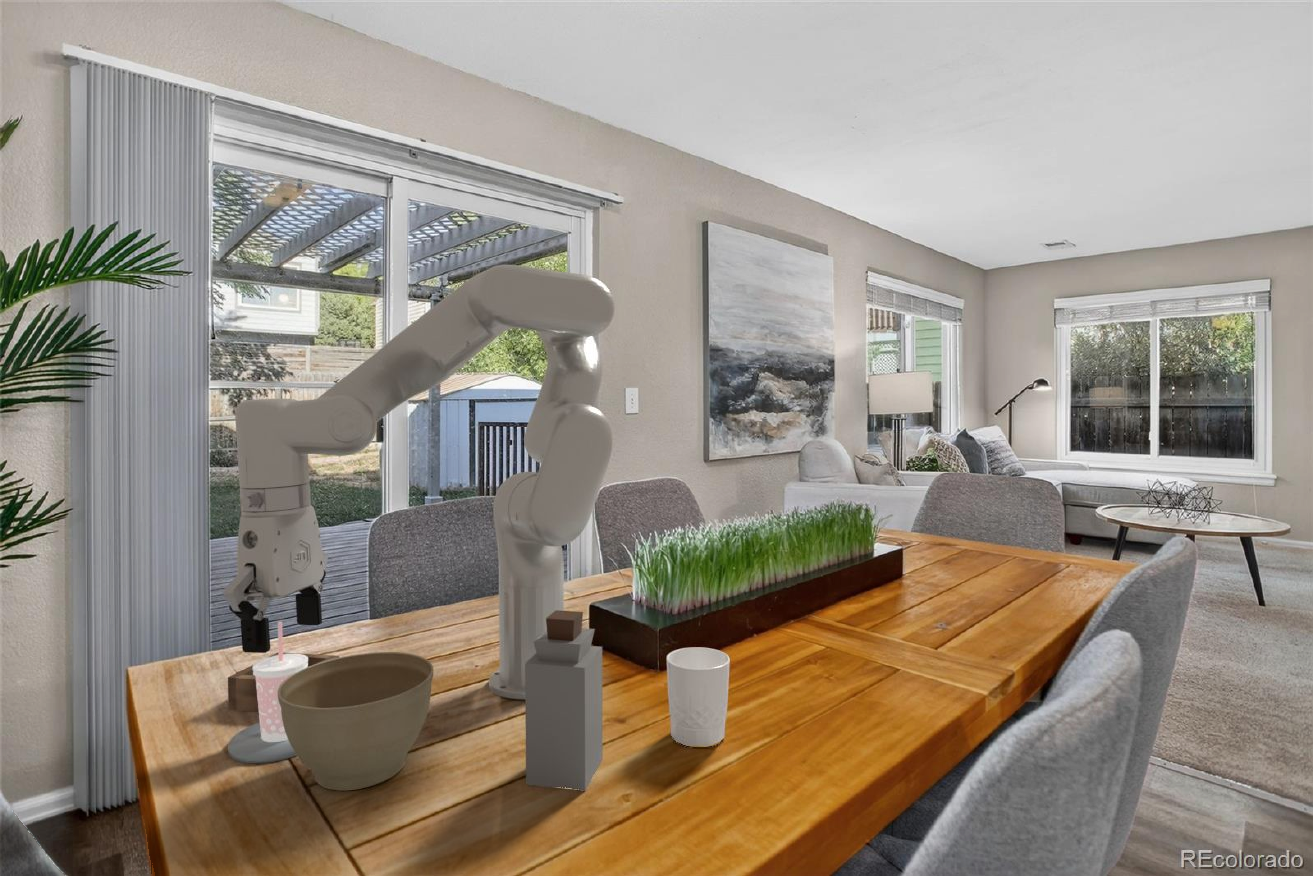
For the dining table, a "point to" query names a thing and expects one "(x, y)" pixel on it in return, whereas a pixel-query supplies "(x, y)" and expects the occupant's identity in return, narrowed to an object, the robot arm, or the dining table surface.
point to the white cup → (698, 695)
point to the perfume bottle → (563, 705)
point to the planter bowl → (356, 715)
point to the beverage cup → (274, 688)
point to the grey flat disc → (258, 747)
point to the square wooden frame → (244, 685)
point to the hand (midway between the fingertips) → (284, 637)
